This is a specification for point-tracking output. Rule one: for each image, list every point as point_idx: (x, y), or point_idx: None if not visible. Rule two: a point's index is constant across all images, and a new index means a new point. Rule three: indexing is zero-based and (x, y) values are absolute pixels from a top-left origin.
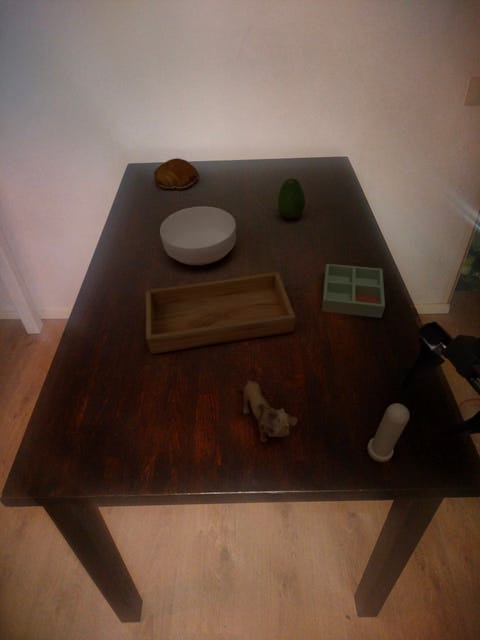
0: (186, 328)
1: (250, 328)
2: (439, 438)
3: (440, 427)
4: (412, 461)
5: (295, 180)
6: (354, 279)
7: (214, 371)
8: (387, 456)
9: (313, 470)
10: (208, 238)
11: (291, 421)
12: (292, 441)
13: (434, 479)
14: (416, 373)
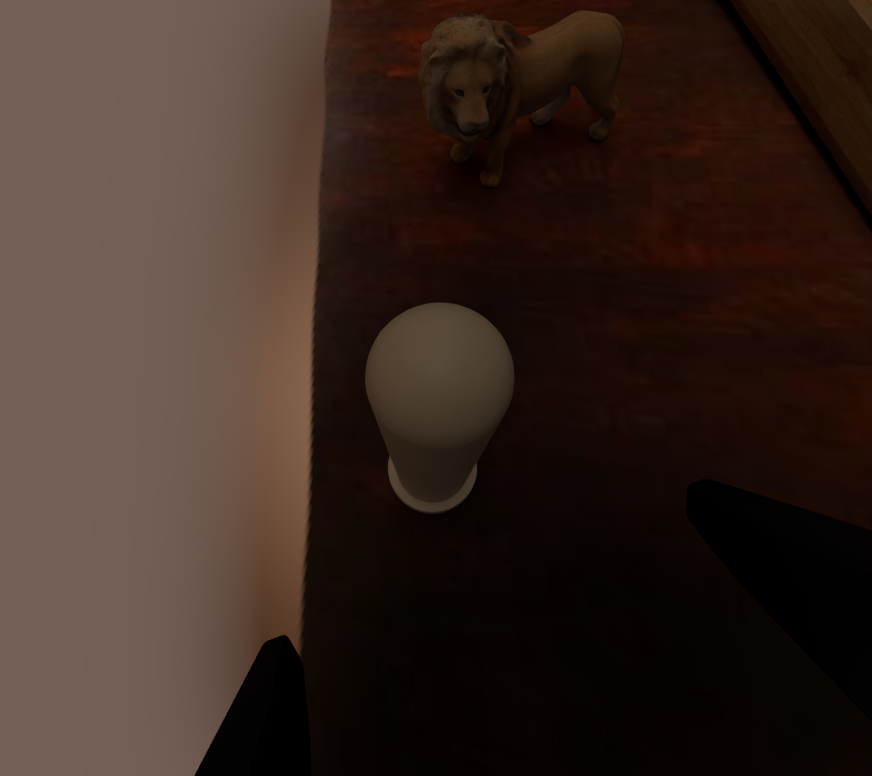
0: None
1: (856, 69)
2: (269, 640)
3: (547, 765)
4: (391, 584)
5: None
6: None
7: (659, 54)
8: (399, 482)
9: (367, 265)
10: None
11: (462, 96)
12: (455, 221)
13: (319, 655)
14: (839, 574)
